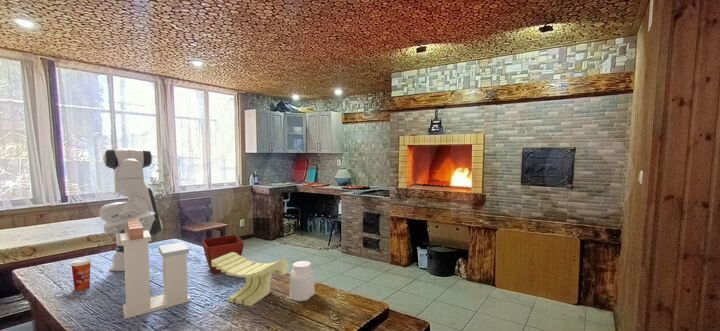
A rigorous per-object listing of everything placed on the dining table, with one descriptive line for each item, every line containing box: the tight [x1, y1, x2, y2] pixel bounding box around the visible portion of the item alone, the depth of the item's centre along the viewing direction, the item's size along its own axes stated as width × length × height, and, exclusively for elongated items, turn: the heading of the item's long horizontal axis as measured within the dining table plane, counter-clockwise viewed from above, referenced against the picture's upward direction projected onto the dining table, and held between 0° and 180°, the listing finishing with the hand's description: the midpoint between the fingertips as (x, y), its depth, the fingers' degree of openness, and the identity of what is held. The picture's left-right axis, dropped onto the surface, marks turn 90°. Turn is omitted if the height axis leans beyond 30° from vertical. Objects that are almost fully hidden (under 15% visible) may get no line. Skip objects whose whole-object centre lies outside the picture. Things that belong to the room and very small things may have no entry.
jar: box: [288, 260, 316, 302], centre depth 148 cm, size 12×10×15 cm
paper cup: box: [70, 258, 92, 292], centre depth 157 cm, size 8×8×14 cm
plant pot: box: [201, 234, 245, 276], centre depth 182 cm, size 19×19×17 cm
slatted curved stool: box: [211, 252, 288, 307], centre depth 147 cm, size 30×16×18 cm, turn 70°
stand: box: [120, 230, 191, 320], centre depth 140 cm, size 14×24×32 cm, turn 129°
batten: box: [127, 219, 144, 240], centre depth 137 cm, size 24×4×4 cm, turn 39°
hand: (129, 228), depth 148 cm, fingers open, 8 cm apart
